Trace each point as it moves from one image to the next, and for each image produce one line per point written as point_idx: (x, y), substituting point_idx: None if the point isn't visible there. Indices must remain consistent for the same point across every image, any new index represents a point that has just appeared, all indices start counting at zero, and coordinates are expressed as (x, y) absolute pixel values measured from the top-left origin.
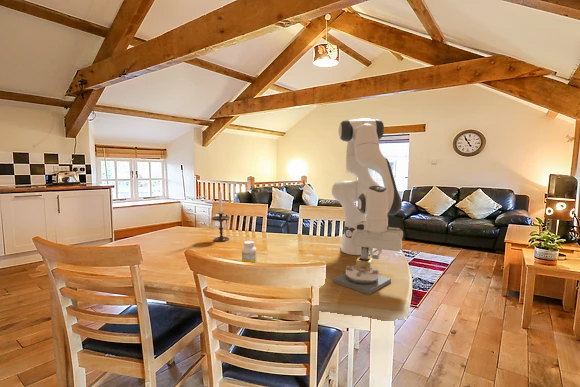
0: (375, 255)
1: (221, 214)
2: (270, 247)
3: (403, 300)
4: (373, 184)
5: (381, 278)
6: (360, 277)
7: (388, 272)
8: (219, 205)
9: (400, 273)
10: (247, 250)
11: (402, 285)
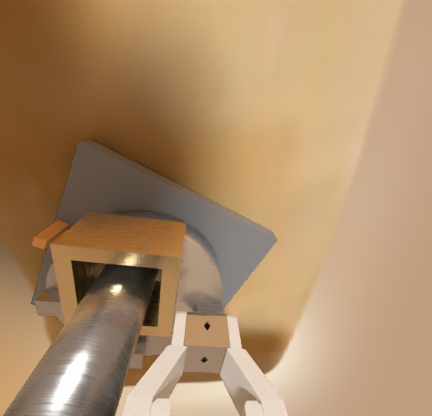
0: (204, 367)
1: None
2: None
3: (287, 337)
4: None
5: (234, 250)
6: (148, 351)
7: (280, 97)
8: None
9: (349, 93)
10: None
11: (312, 247)
